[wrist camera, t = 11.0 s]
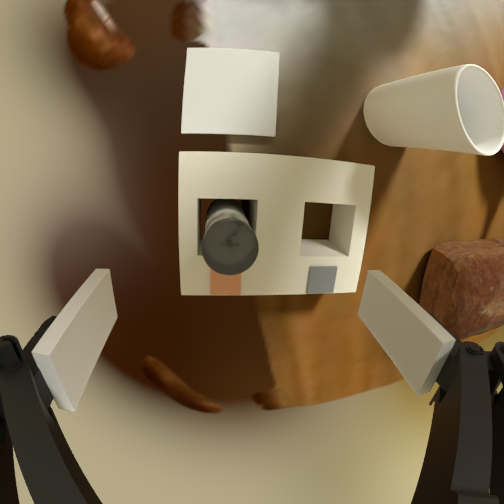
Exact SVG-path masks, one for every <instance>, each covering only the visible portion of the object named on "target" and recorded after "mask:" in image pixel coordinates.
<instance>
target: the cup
mask: <svg viewBox="0 0 504 504" xmlns="http://www.w3.org/2000/svg"><path fill="white" fill-rule="evenodd" d="M363 113H364V119H365V122H366V125H367V127H368V129H369V131H370V133H371V134H372V135H373V136H374V137H375V138H376V139H377V140H378V141H379V142H381V143H382V144H384V145H387V146H393V147H410V148H424V149H435V150H445V151H454V152H462V153H470V154H477V155H484V156H491V155H494V154H496V153H497V152H498V151H499V150H500V149H501V147H502V145H503V143H504V101H503V98H502V95H501V93H500V90H499V88H498V86H497V85H496V83H495V81H494V80H493V78H492V77H491V76H490V75H489V74H488V73H487V72H486V71H485V70H484V69H483V68H481V67H480V66H477V65H474V64H466V65H460V66H455V67H450V68H445V69H441V70H436V71H432V72H428V73H424V74H420V75H416V76H412V77H408V78H404V79H401V80H397V81H394V82H390V83H387V84H383V85H380V86H377V87H375V88H373V89H372V90H371V91H370V92H369V93H368V95H367V96H366V99H365V101H364V107H363Z"/></svg>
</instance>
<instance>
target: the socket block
mask: <svg viewBox="0 0 504 504" xmlns="http://www.w3.org/2000/svg"><path fill="white" fill-rule="evenodd" d="M374 171H375V166H372V165H366V164H359V163H352V162H344V161H337V160H328V159H319V158H310V157H299V156H288V155H275V154H259V153H238V152H179V185H178V187H179V190H178V199H179V200H178V207H179V209H178V210H179V211H178V212H179V213H178V215H179V216H178V217H179V260H180V282H181V295H290V294H322V293H346V292H356V288H357V283H358V279H359V273H360V268H361V263H362V258H363V252H364V246H365V240H366V234H367V227H368V221H369V214H370V206H371V198H372V190H373V181H374ZM201 198H209V199H211V198H212V199H250V206H249V225H250V227H251V228H252V230H253V231H254V233H255V235H256V237H257V240H258V245H259V251H258V256H257V258H256V260H255V262H254V263H253V265H252V266H251V267H250V268H249V269H247V270H246V271H244V272H242V273H240V274H236V275H223V274H220V273H217V272H215V271H214V270H212V269H211V268H210V267H209V266H208V265H207V264H206V262H205V260H204V258H203V255H202V241H203V238H200V200H201ZM305 202H317V203H332V204H333V207H332V216H331V224H330V232H329V240H320V239H301V237H302V227H303V217H304V207H305Z"/></svg>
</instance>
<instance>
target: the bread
mask: <svg viewBox="0 0 504 504" xmlns="http://www.w3.org/2000/svg"><path fill="white" fill-rule="evenodd" d="M420 306H421V307H422V308H423V309H424V310H425V311H426V312H428V313H430V314H431V315H433V316H435V317H436V318H437V319H438V320H439V321H440V323H442V324H443V325H444V326H445V328H447V329H448V330H449V331H451V332H452V333H453V334H454V335H455V336H456V337H457V338H458V339H462V338H467V337H470V336H474V335H478V334H482V333H484V332H487V331H489V330H492V329H495V328H498V327H500V326H502V325H504V238H501V239H480V240H473V241H449V242H445V243H442V244H439V245H438V246H437V247H435V248H434V249H433V250H432V252H431V255H430V257H429V261H428V264H427V267H426V270H425V275H424V278H423V283H422V289H421V295H420Z"/></svg>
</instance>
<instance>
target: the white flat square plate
mask: <svg viewBox="0 0 504 504" xmlns="http://www.w3.org/2000/svg"><path fill="white" fill-rule="evenodd" d="M279 54H280V53H277V52H269V51H259V50H247V49H230V48H187V59H186V68H185V79H184V92H183V106H182V123H181V124H182V125H181V134H231V135H252V136H268V137H275V133H276V115H277V96H278V76H279Z"/></svg>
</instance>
